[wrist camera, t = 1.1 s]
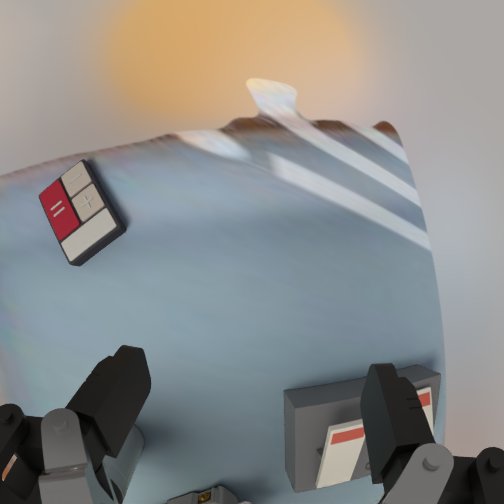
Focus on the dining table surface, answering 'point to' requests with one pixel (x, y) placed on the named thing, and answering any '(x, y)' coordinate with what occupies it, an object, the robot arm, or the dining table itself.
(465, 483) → the robot arm
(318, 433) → the rocker switch panel
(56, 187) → the calculator
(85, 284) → the dining table surface
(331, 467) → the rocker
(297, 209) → the dining table surface
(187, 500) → the grey boxy piece
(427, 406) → the rocker
